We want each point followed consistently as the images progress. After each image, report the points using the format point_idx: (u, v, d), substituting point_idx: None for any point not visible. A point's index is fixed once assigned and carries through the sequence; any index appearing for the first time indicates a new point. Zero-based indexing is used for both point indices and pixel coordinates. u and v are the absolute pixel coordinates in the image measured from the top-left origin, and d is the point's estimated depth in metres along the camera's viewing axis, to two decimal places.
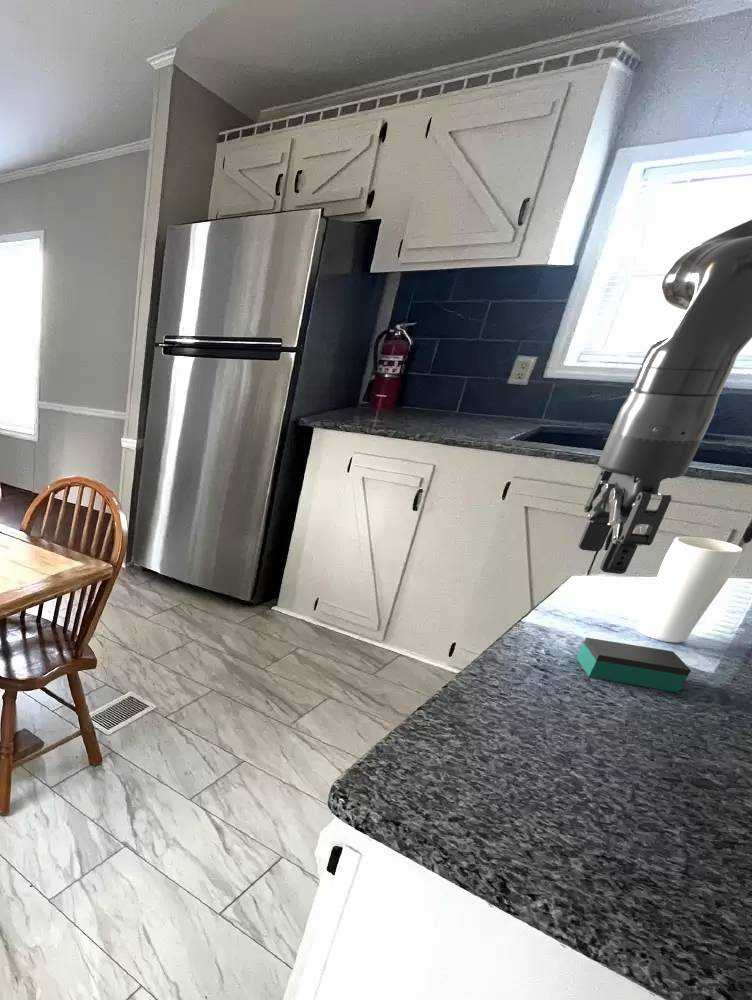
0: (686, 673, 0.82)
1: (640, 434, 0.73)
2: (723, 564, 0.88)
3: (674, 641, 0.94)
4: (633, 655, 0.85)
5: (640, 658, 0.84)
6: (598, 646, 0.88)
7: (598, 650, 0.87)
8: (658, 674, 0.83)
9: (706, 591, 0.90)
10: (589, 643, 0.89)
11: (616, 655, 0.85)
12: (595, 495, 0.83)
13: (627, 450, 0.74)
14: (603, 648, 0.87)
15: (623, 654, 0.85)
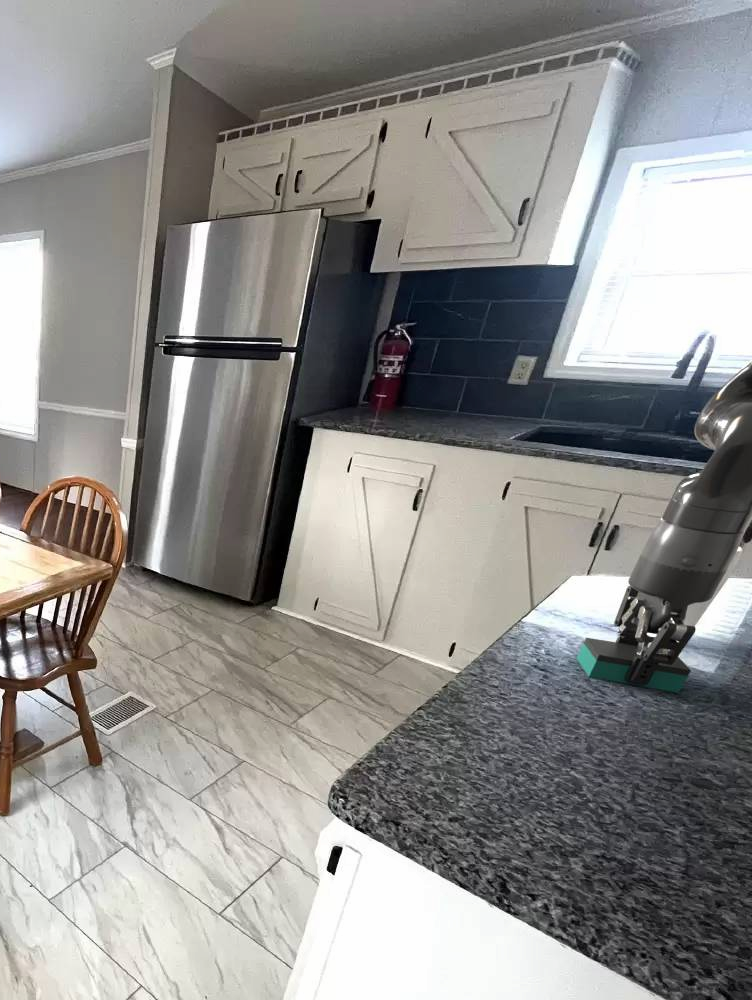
0: (686, 673, 0.82)
1: (670, 562, 0.78)
2: None
3: None
4: (633, 655, 0.85)
5: None
6: (598, 646, 0.88)
7: (598, 650, 0.87)
8: (658, 674, 0.83)
9: None
10: (589, 643, 0.89)
11: (616, 655, 0.85)
12: (624, 610, 0.89)
13: (656, 575, 0.80)
14: (603, 648, 0.87)
15: (623, 654, 0.85)
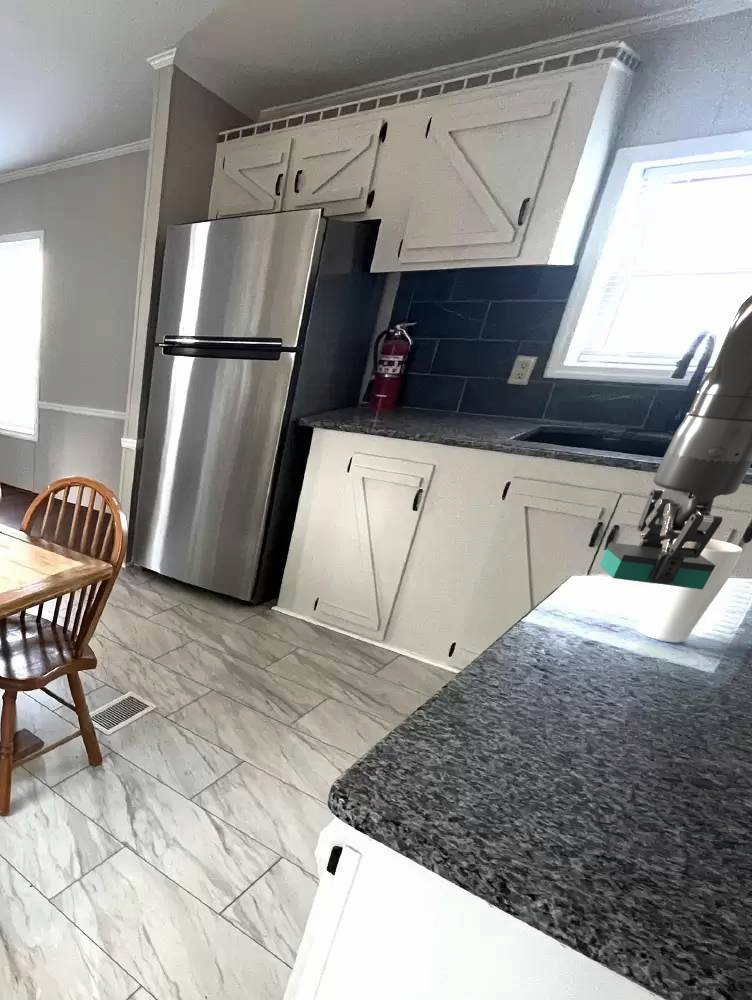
0: (710, 569, 0.83)
1: (696, 454, 0.79)
2: (723, 564, 0.88)
3: (674, 641, 0.94)
4: (657, 554, 0.86)
5: None
6: (622, 548, 0.88)
7: (622, 551, 0.87)
8: (682, 571, 0.84)
9: (706, 591, 0.90)
10: (613, 546, 0.89)
11: (640, 555, 0.86)
12: (647, 514, 0.89)
13: (683, 469, 0.81)
14: (627, 550, 0.88)
15: (647, 554, 0.86)
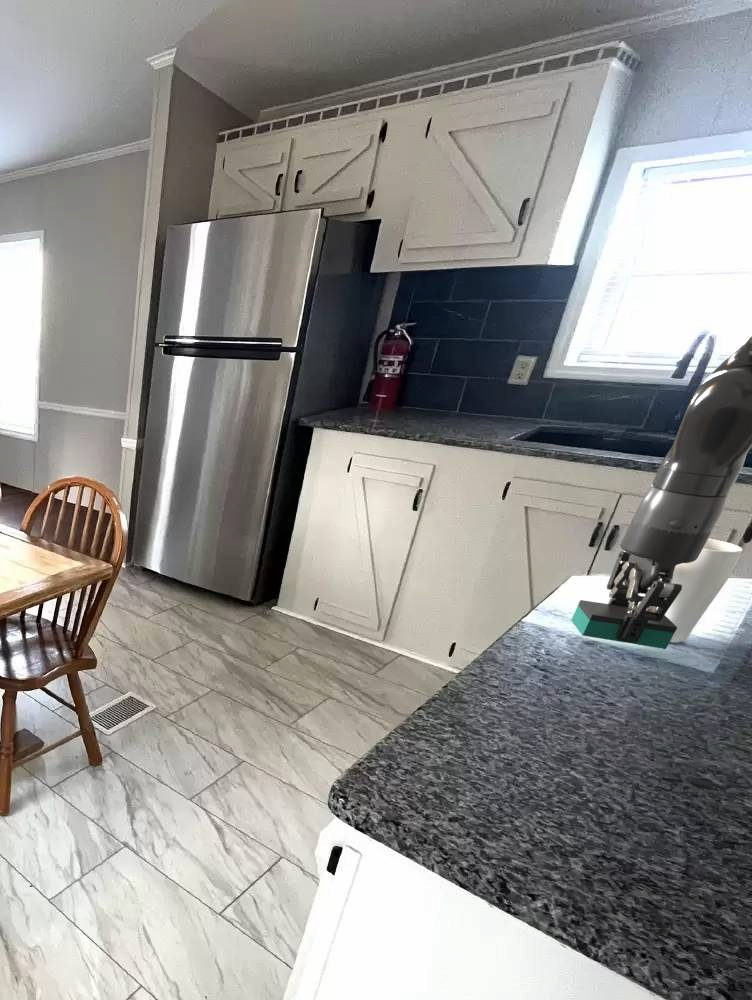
0: (673, 630, 0.88)
1: (658, 525, 0.84)
2: (723, 564, 0.88)
3: (674, 641, 0.94)
4: (624, 614, 0.91)
5: None
6: (591, 607, 0.93)
7: (591, 610, 0.92)
8: (647, 632, 0.89)
9: (706, 591, 0.90)
10: (583, 604, 0.94)
11: (608, 615, 0.91)
12: (616, 574, 0.94)
13: (646, 538, 0.85)
14: (596, 609, 0.93)
15: (614, 614, 0.91)
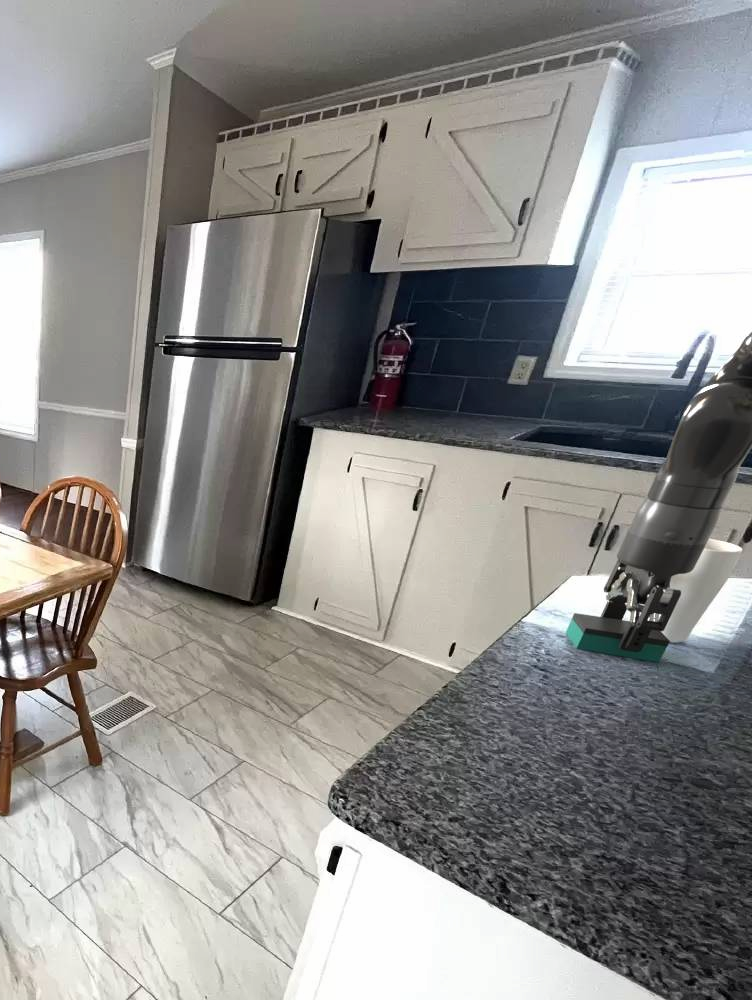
0: (665, 644, 0.89)
1: (654, 536, 0.85)
2: (723, 564, 0.88)
3: (674, 641, 0.94)
4: (617, 628, 0.92)
5: (623, 631, 0.91)
6: (585, 620, 0.94)
7: (585, 624, 0.93)
8: None
9: (706, 591, 0.90)
10: (577, 617, 0.95)
11: (601, 628, 0.92)
12: (613, 579, 0.95)
13: (642, 549, 0.86)
14: (590, 622, 0.94)
15: (608, 627, 0.92)
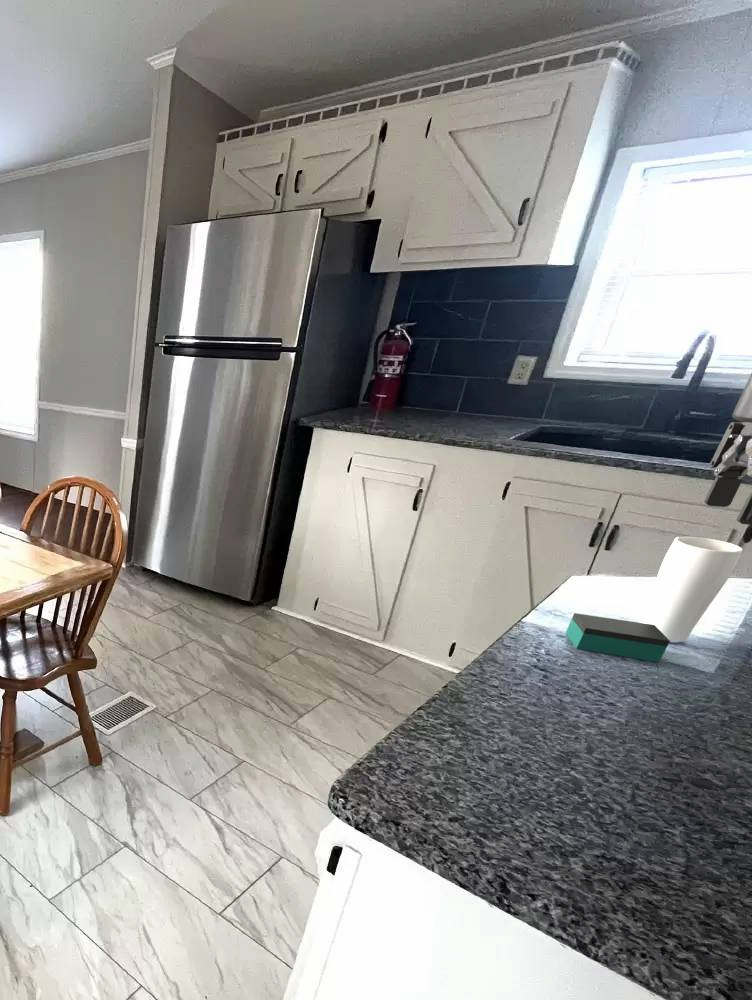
0: (665, 644, 0.89)
1: None
2: (723, 564, 0.88)
3: (674, 641, 0.94)
4: (617, 628, 0.92)
5: (623, 631, 0.91)
6: (585, 620, 0.94)
7: (585, 624, 0.93)
8: (640, 645, 0.90)
9: (706, 591, 0.90)
10: (577, 617, 0.95)
11: (601, 628, 0.92)
12: (723, 450, 0.82)
13: None
14: (590, 622, 0.94)
15: (608, 627, 0.92)
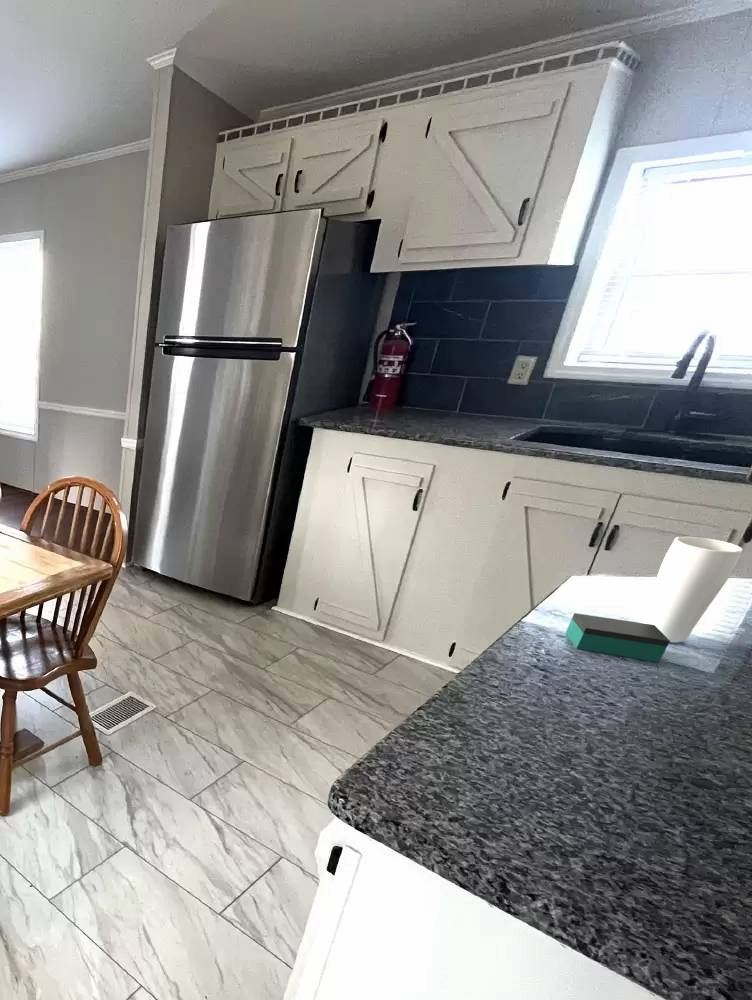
0: (665, 644, 0.89)
1: None
2: (723, 564, 0.88)
3: (674, 641, 0.94)
4: (617, 628, 0.92)
5: (623, 631, 0.91)
6: (585, 620, 0.94)
7: (585, 624, 0.93)
8: (640, 645, 0.90)
9: (706, 591, 0.90)
10: (577, 617, 0.95)
11: (601, 628, 0.92)
12: None
13: None
14: (590, 622, 0.94)
15: (608, 627, 0.92)
